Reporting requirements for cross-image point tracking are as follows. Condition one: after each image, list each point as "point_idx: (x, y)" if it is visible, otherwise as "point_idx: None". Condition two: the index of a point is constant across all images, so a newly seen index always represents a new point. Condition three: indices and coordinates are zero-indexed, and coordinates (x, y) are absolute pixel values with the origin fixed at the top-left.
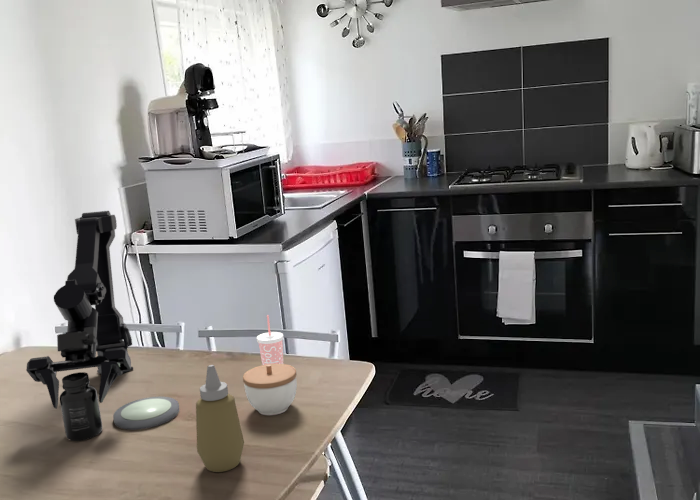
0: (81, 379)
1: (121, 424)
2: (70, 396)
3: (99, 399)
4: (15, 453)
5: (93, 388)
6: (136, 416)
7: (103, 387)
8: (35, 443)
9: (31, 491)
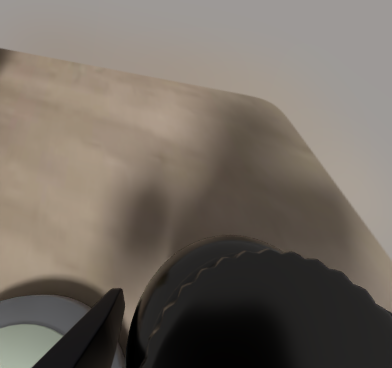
0: (183, 286)
1: None
2: (252, 247)
3: (116, 290)
4: (353, 238)
5: (132, 365)
6: (38, 360)
7: (57, 348)
8: None
9: (237, 98)
